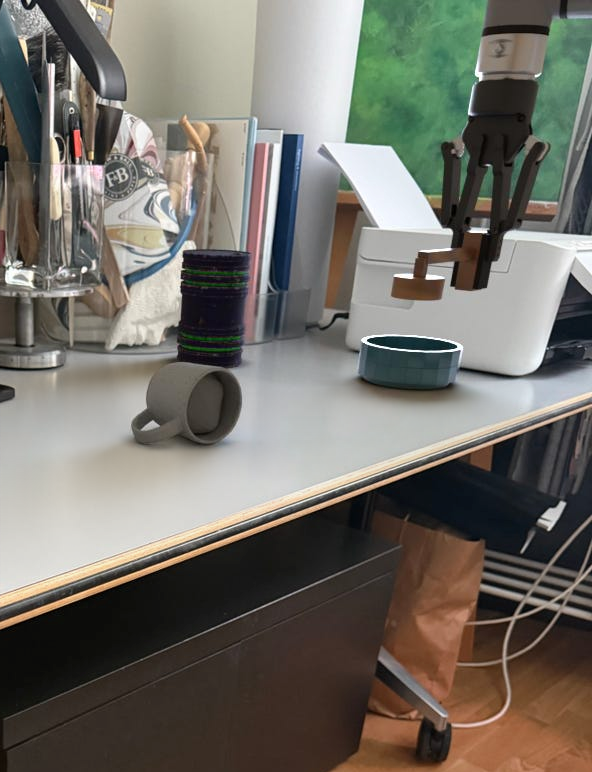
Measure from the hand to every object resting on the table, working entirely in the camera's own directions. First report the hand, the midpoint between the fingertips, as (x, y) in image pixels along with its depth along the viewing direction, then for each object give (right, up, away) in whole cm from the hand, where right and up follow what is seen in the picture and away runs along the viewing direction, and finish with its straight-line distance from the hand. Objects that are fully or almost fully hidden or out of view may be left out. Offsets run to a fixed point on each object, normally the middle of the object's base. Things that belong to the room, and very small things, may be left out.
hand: (468, 286), depth 123 cm
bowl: (-6, -11, +6) cm, 14 cm away
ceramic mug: (-40, -25, -24) cm, 53 cm away
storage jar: (-33, -6, +15) cm, 36 cm away
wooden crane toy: (-5, -3, -5) cm, 8 cm away
